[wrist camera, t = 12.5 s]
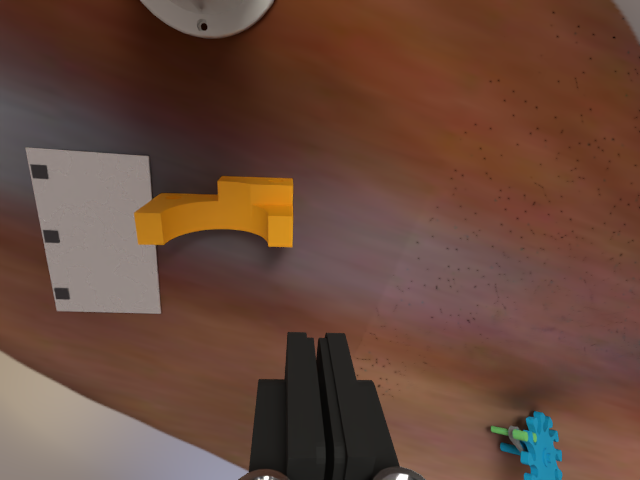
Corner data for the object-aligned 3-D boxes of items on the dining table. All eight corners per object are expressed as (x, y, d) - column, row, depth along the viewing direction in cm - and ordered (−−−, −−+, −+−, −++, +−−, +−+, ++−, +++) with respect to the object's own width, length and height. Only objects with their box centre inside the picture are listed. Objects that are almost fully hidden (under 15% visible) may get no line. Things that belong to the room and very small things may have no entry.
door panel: (26, 147, 31) (24, 147, 31) (149, 155, 32) (147, 156, 32) (58, 309, 36) (56, 311, 36) (161, 312, 37) (160, 314, 37)
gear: (570, 440, 48) (563, 524, 42) (523, 431, 53) (511, 505, 47) (536, 391, 45) (523, 475, 39) (489, 386, 49) (471, 460, 43)
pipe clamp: (292, 178, 34) (293, 194, 28) (291, 222, 35) (292, 247, 29) (159, 173, 33) (130, 190, 27) (164, 219, 34) (138, 244, 28)
